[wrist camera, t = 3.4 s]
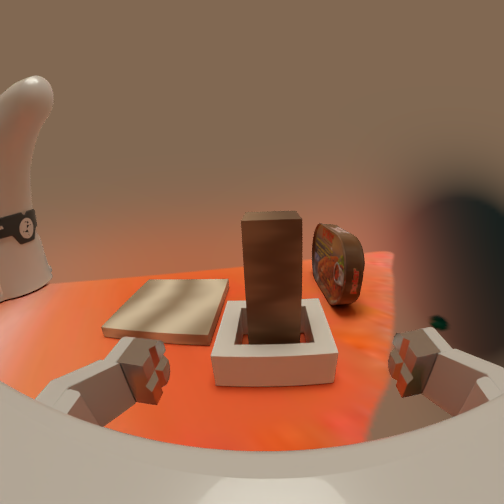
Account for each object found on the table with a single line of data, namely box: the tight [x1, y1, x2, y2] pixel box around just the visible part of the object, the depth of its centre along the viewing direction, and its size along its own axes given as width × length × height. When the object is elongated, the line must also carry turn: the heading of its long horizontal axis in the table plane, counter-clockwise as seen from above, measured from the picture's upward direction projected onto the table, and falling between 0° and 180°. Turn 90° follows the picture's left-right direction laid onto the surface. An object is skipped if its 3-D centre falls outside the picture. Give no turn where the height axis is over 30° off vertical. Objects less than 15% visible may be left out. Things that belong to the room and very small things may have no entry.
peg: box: [241, 211, 302, 345], centre depth 21 cm, size 4×4×12 cm
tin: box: [312, 223, 365, 305], centre depth 34 cm, size 15×3×8 cm, turn 0°
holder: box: [211, 298, 338, 387], centre depth 23 cm, size 9×9×3 cm
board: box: [101, 279, 229, 345], centre depth 31 cm, size 12×14×1 cm
